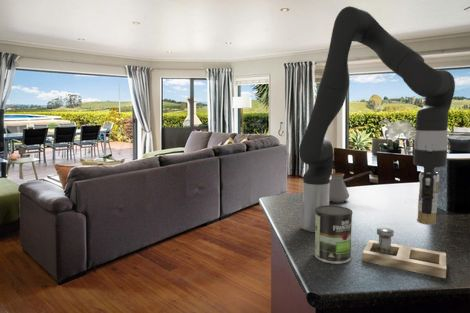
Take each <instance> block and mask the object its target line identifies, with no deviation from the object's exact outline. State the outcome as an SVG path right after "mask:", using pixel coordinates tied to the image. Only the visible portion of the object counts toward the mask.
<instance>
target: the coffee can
mask: <svg viewBox="0 0 470 313" xmlns="http://www.w3.org/2000/svg"><path fill="white" fill-rule="evenodd" d="M315 212H316V223H315V232H314V234H315V235H314V236H315V238H314V240H315V241H314V242H315V243H314V244H315V245H314V256H315V258H316V259H317V260H319V261H321V262H323V263H327V264H332V265H341V264H346V263H348V262H350V261H351V259H352V257H351V252H352V251H351V250H352V224H353V223H352V222H353V221H352V220H353V210H352V209H350V208H348V207H345V206H340V205H330V204H329V205H326V206H319V207H317V208H316V209H315Z"/></svg>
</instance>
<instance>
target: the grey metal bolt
mask: <svg viewBox="0 0 470 313" xmlns="http://www.w3.org/2000/svg"><path fill="white" fill-rule="evenodd" d="M376 234H377V235H378V241H379V247H378V251H377V253H382V254H387V255H391V254H390V253H391V244H392V238H393V237H394V235H395V231H394V230H393V229H391V228H388V227H378V228H377V229H376Z"/></svg>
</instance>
